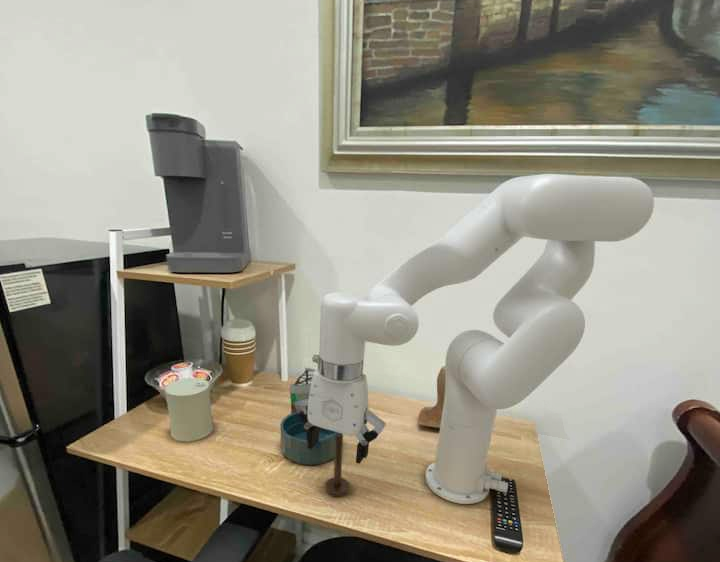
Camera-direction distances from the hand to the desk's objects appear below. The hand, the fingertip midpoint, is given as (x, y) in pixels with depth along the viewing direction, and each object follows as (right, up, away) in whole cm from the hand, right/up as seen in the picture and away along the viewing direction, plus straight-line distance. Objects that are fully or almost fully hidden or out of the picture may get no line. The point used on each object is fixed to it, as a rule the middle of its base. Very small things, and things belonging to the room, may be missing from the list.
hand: (336, 452), depth 72 cm
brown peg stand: (0, -8, +3) cm, 9 cm away
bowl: (-7, -3, +15) cm, 17 cm away
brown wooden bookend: (+27, 0, +29) cm, 39 cm away
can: (-35, 0, +19) cm, 40 cm away
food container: (-9, +3, +30) cm, 32 cm away
